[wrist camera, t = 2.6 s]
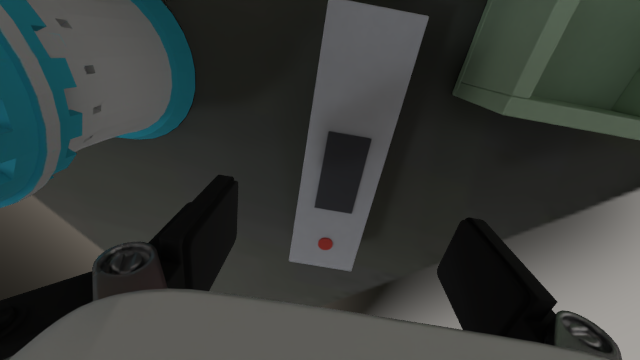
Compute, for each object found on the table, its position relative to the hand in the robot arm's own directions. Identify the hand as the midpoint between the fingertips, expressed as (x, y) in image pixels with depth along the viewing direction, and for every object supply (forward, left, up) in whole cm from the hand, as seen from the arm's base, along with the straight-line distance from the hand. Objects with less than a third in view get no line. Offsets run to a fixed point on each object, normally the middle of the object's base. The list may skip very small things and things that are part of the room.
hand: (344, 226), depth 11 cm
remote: (0, 0, -8) cm, 8 cm away
